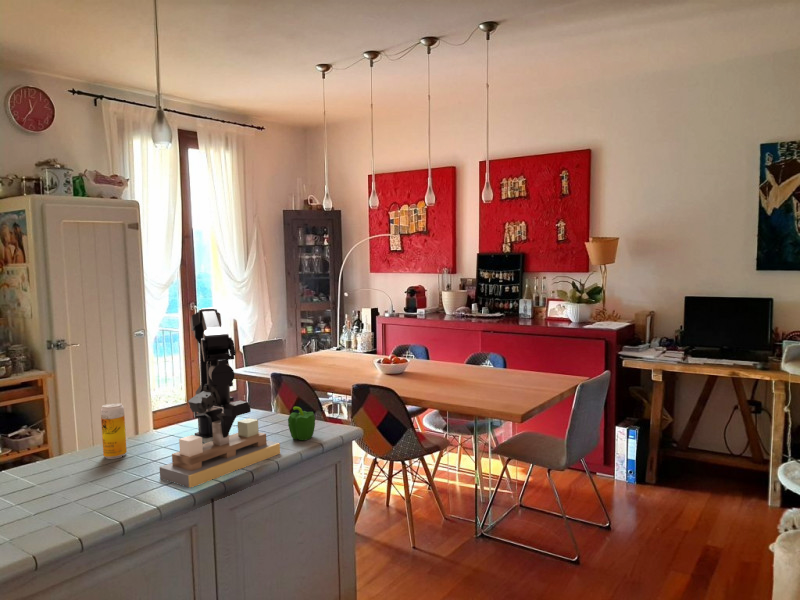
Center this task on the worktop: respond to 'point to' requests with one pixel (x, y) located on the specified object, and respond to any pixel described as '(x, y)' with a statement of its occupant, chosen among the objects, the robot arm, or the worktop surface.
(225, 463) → the dock
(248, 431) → the pale olive cube
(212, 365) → the robot arm
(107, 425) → the beer can
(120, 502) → the worktop surface
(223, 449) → the pallet
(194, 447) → the block
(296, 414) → the bell pepper
